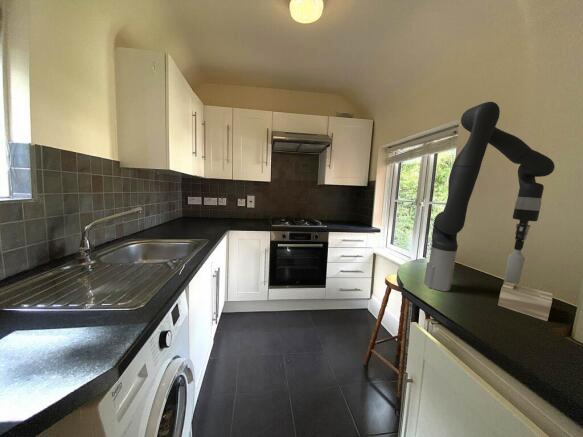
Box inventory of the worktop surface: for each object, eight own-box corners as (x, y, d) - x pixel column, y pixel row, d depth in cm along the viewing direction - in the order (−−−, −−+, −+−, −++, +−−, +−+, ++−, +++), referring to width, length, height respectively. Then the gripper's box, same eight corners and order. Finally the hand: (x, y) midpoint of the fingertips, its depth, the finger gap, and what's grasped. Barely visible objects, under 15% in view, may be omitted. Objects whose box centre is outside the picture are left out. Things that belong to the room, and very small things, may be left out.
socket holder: (547, 321, 81) (551, 301, 80) (497, 305, 91) (501, 287, 90) (548, 310, 90) (552, 292, 89) (503, 296, 100) (506, 280, 99)
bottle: (520, 297, 100) (532, 238, 97) (505, 295, 101) (518, 237, 98) (511, 291, 105) (523, 236, 102) (498, 290, 106) (509, 234, 103)
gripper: (538, 210, 91) (529, 253, 93) (540, 209, 100) (532, 249, 103) (512, 207, 96) (503, 249, 99) (516, 207, 106) (508, 245, 108)
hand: (518, 248), depth 101 cm, fingers open, 4 cm apart
